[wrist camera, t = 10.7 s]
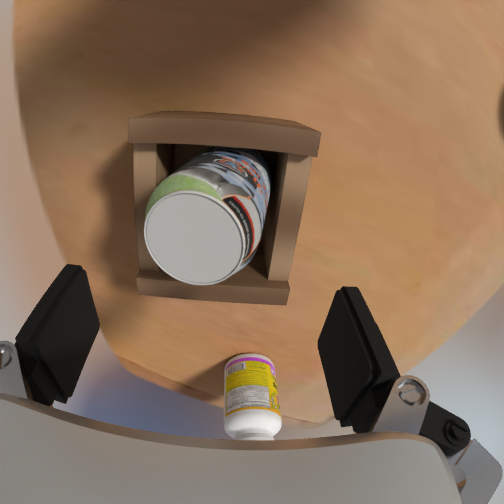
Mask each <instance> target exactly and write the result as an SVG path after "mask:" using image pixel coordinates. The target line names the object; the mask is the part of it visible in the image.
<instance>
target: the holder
mask: <svg viewBox="0 0 504 504" xmlns="http://www.w3.org/2000/svg"><path fill="white" fill-rule="evenodd" d="M320 137H321V132H319V131H317V130H314V129H312V128H310V127H307V126H305V125H303V124H300V123H298V122H295V121H289V120H282V119H274V118H267V117H258V116H249V115H238V114H226V113H210V112H187V111H160V112H155V113H150V114H146V115H141V116H137V117H132V118H129V125H128V143H134V202H135V221H136V235H137V247H138V258H139V268H140V271H139V273H138V275H137V277H136V281H137V288H138V294H140V295H149V296H159V297H169V298H180V299H192V300H204V301H218V302H232V303H249V304H268V305H286V304H287V300H288V296H289V292H290V287H289V283H288V279H289V274H290V270H291V265H292V260H293V256H294V251H295V246H296V241H297V236H298V231H299V226H300V221H301V216H302V211H303V206H304V201H305V195H306V190H307V185H308V179H309V174H310V168H311V162H312V157H317V155H318V149H319V143H320ZM210 146H215V147H228V148H249V149H259V150H262V151H263V152H264V154H265V155H266V156H267V158H268V160H269V162H270V164H271V167H272V172H273V182H272V187H271V192H270V196H269V201H268V206H267V211H266V215H265V220H264V225H263V229H262V234H261V239H260V243H259V246H258V248H257V251H256V253H255V255H254V256H253V258H252V259H251V261H250V262H249V263H248V264H247V265H246V266H245V267H244V268H242V269H241V270H239V271H238V272H237V273H235V274H233V275H231V276H230V277H228V278H227V279H226V280H224V281H221V282H219V283H216V284H212V285H193V284H188V283H185V282H182V281H179V280H177V279H175V278H173V277H171V276H170V275H169V274H167V273H166V272H164V271H163V270H162V269H161V268H160V267H159V266H158V265H157V264H156V262H155V261H154V260H153V258H152V257H151V255H150V253H149V251H148V249H147V246H146V243H145V238H144V224H145V214H146V208H147V204H148V202H149V199H150V197H151V195H152V193H153V192H154V190H155V189H156V187H157V186H158V185H159V184H160V183H161V182H162V181H163V180H165V179H166V178H167V177H168V176H170V175H171V174H172V173H174V172H175V171H176V170H178V169H179V168H180V167H182V166H183V165H185V164H186V163H187V162H189V161H190V160H191V159H193V158H194V157H196V156H197V155H198V154H200V153H201V152H203V151H204V150H205V149H207V148H208V147H210Z"/></svg>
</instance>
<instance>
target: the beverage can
mask: <svg viewBox="0 0 504 504" xmlns="http://www.w3.org/2000/svg"><path fill="white" fill-rule="evenodd" d="M272 182H273V172H272V167H271V164H270V162H269V160H268V158H267V156H266V155H265V154H264V152H263V151H262V150H259V149H249V148H228V147H215V146H210V147H208V148H207V149H205V150H204V151H203V152H201V153H200V154H198V155H197V156H196V157H194V158H193V159H191V160H190V161H189V162H187V163H186V164H185V165H183V166H182V167H180V168H179V169H178V170H176V171H175V172H174V173H172V174H171V175H170V176H168V177H167V178H166V179H165V180H163V181H162V182H161V183H160V184H159V185H158V186H157V187H156V189H155V190H154V192H153V193H152V195H151V197H150V199H149V202H148V204H147V208H146V214H145V224H144V238H145V243H146V246H147V249H148V251H149V253H150V255H151V257H152V258H153V260H154V261H155V262H156V264H157V265H158V266H159V267H160V268H161V269H162V270H163V271H164V272H166V273H167V274H169V275H170V276H171V277H173V278H175V279H177V280H179V281H182V282H185V283H188V284H193V285H212V284H216V283H219V282H221V281H224V280H226V279H227V278H228V277H230V276H231V275H233V274H235V273H237V272H238V271H239V270H241V269H242V268H244V267H245V266H246V265H247V264H248V263H249V262H250V261H251V259H252V258H253V256H254V255H255V253H256V251H257V248H258V246H259V243H260V239H261V234H262V229H263V225H264V220H265V215H266V211H267V206H268V201H269V196H270V192H271V187H272Z"/></svg>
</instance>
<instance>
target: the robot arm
mask: <svg viewBox="0 0 504 504" xmlns="http://www.w3.org/2000/svg"><path fill="white" fill-rule="evenodd" d="M99 327H100V323H99V319H98V315H97V312H96V309H95V305H94V301H93V298H92V294H91V290H90V286H89V282H88V278H87V274H86V271H85V270H83V269H82V267H81V266H80V265H72V264H67V265H66V266H65V267H64V268H63V269H62V271H61V272H60V273H59V275H58V276H57V278H56V279H55V280H54V281H53V283H52V284H51V286H50V287H49V288H48V290H47V291H46V292H45V294H44V295H43V297H42V298H41V299H40V301H39V302H38V304H37V305H36V307H35V308H34V310H33V311H32V313H31V314H30V316H29V317H28V319H27V321H26V322H25V323H24V325H23V327H22V328H21V330H20V332H19V333H18V335H17V336H16V338H15V339H16V343H15V345H14V344H13V343H11V342H9V341H1V342H0V504H488V502H489V500H490V499H491V497H492V495H493V494H494V492H495V490H496V488H497V487H498V485H499V483H500V481H501V478H502V468H501V465H500V464H499V462H498V461H497V460H496V459H495V458H494V457H493V456H492V455H491V454H490V453H489V452H488V451H487V450H486V449H485V448H484V447H483V446H482V445H481V444H480V443H479V442H478V441H477V440H476V439H473V440H471V439H470V437H471V433H470V429H469V426H468V425H467V423H466V422H465V421H464V420H462V419H461V418H459V417H458V416H455V415H454V414H452V413H450V412H448V411H447V410H445V409H443V408H441V407H440V406H438V405H436V404H434V403H433V402H430V401H429V398H430V394H429V390H428V388H427V386H426V384H425V383H424V382H423V381H421V380H420V379H419V378H417V377H414V376H410V375H405V376H400V374H399V371H398V369H397V367H396V365H395V362H394V360H393V358H392V356H391V353H390V351H389V349H388V347H387V345H386V342H385V340H384V338H383V336H382V334H381V332H380V330H379V327H378V325H377V324H376V323H375V321H374V319H373V316H372V314H371V312H370V310H369V308H368V306H367V304H366V302H365V300H364V298H363V296H362V294H361V292H360V290H359V289H358V288H357V287H345V286H343V287H342V288H341V289H340V290H337V291H336V293H335V296H334V299H333V302H332V304H331V307H330V310H329V313H328V315H327V318H326V321H325V323H324V326H323V329H322V331H321V334H320V337H319V339H318V350H319V354H320V358H321V362H322V366H323V370H324V374H325V378H326V382H327V386H328V390H329V394H330V398H331V403H332V407H333V411H334V415H335V418H336V420H340V424H341V427H347V426H352V427H353V431H354V434H350V435H342V436H332V437H321V438H308V439H292V440H225V439H209V438H195V437H186V436H177V435H170V434H163V433H156V432H150V431H144V430H138V429H133V428H128V427H123V426H118V425H114V424H109V423H105V422H101V421H97V420H93V419H89V418H86V417H82V416H79V415H75V414H72V413H68V412H65V411H61V410H59V409H55V408H53V406H52V404H53V402H54V400H56V401H59V402H62V403H65V404H66V402H67V400H68V397H71V396H72V394H73V392H74V389H75V387H76V384H77V381H78V379H79V376H80V374H81V371H82V369H83V366H84V364H85V361H86V359H87V356H88V354H89V351H90V349H91V347H92V344H93V342H94V340H95V338H96V335H97V333H98V331H99Z"/></svg>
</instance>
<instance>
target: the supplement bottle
mask: <svg viewBox="0 0 504 504" xmlns="http://www.w3.org/2000/svg"><path fill="white" fill-rule="evenodd" d="M281 424H282V422H281V414H280V406H279V399H278V391H277V383H276V376H275V369H274V365H273V363H272V361H271V360H270V359H269V358H267V357H266V356H263V355H260V354H255V353H246V354H241V355H237V356H235V357H233V358H232V359H230V360H229V361H228V362H227V364H226V366H225V371H224V428H225V431H226V432H227V434H228V435H230V436H231V437H233V438H235V440H274V438H273V436H274V435H275V434H276V433H277V432H278V431H279V430H280V428H281Z"/></svg>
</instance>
